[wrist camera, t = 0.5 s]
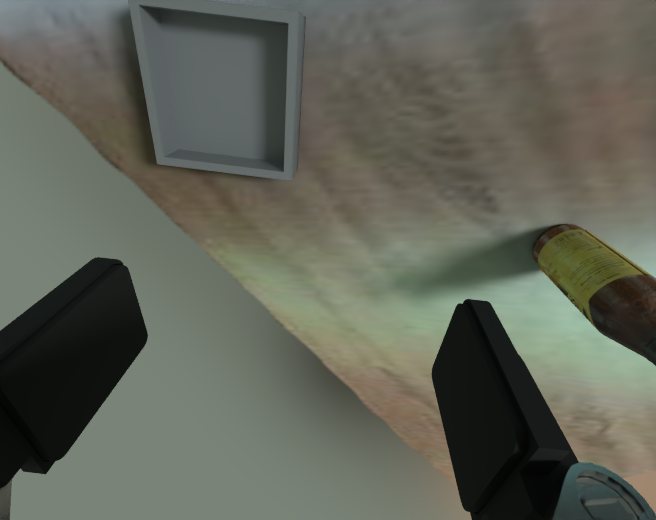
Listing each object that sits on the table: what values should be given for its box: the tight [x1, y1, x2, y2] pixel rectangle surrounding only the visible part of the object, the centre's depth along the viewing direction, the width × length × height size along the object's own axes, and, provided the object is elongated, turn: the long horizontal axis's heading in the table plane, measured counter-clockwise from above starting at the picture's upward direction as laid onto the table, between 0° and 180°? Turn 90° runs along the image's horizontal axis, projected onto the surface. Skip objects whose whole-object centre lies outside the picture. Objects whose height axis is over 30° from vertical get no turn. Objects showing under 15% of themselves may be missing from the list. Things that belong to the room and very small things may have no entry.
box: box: [128, 0, 306, 181], centre depth 31 cm, size 14×14×4 cm
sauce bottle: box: [533, 224, 656, 366], centre depth 30 cm, size 7×6×20 cm
